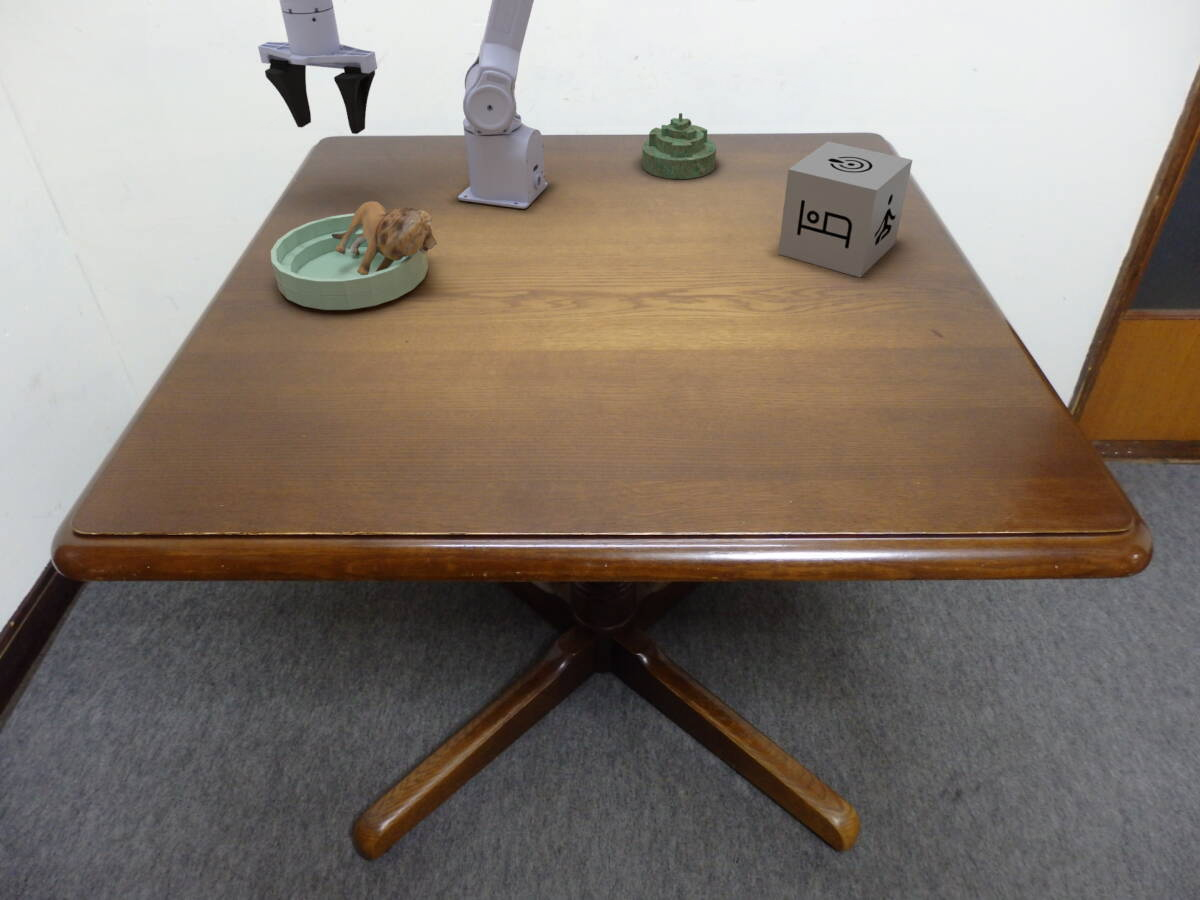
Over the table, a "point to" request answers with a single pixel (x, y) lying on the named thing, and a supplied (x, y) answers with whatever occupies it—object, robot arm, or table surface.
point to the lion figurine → (387, 234)
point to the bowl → (338, 269)
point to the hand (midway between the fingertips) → (331, 127)
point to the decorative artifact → (678, 151)
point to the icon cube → (843, 207)
